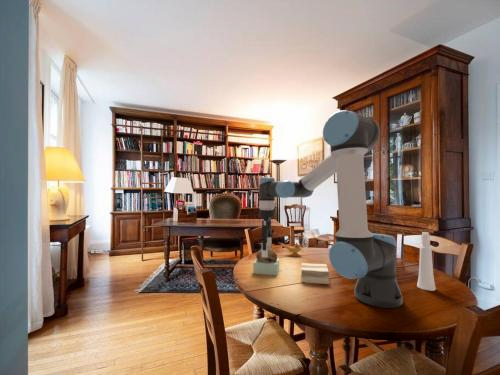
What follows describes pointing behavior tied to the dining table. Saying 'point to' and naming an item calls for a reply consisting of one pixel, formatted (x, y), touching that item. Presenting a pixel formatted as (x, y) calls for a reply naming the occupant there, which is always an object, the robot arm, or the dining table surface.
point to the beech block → (315, 273)
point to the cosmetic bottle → (426, 265)
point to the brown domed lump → (271, 257)
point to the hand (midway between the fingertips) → (266, 253)
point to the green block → (266, 267)
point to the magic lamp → (294, 248)
